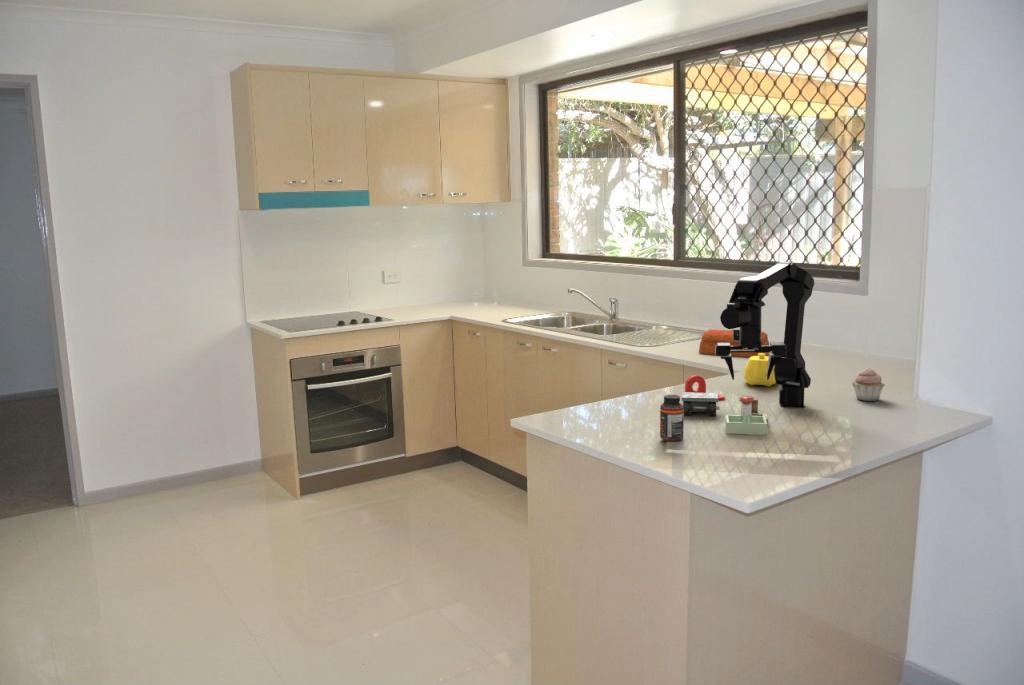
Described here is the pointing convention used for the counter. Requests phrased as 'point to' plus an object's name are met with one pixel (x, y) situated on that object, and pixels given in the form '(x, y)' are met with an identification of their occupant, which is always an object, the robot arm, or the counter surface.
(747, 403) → the pin
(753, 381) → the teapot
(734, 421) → the tray
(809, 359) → the counter surface
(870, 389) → the cupcake
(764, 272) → the robot arm
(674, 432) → the supplement bottle
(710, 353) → the bread
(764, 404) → the counter surface
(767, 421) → the pin socket
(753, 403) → the block
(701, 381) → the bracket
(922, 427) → the counter surface
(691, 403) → the trolley
